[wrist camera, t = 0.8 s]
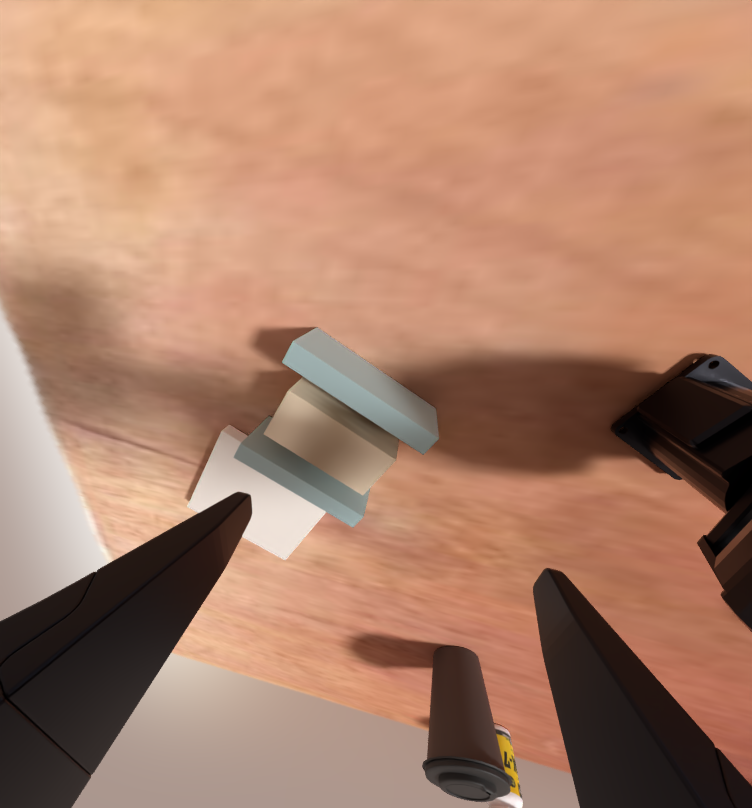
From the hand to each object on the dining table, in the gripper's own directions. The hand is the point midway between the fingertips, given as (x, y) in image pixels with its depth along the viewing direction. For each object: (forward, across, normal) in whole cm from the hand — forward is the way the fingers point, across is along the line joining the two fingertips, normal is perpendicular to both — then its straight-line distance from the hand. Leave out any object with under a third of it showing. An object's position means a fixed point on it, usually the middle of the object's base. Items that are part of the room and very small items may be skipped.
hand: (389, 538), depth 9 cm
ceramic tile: (+12, +11, +14) cm, 22 cm away
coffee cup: (+13, -13, +34) cm, 38 cm away
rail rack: (+12, +4, +4) cm, 14 cm away
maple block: (+13, +4, +4) cm, 14 cm away
